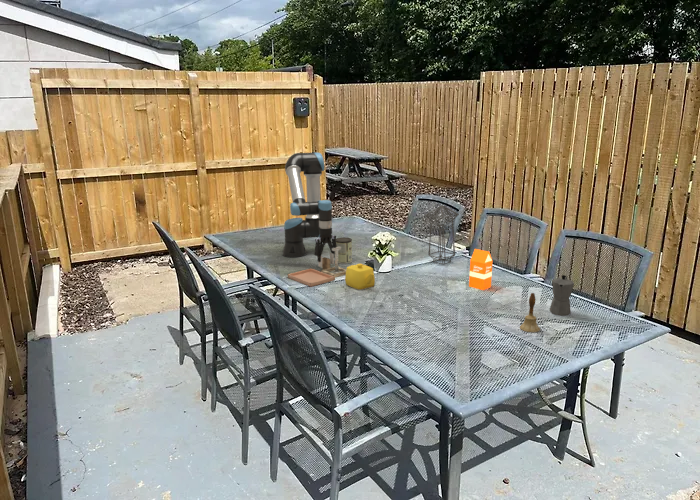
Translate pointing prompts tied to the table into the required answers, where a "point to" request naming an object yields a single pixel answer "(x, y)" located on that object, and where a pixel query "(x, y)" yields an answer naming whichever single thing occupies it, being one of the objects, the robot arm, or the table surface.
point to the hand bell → (530, 318)
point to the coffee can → (344, 250)
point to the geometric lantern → (442, 231)
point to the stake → (336, 259)
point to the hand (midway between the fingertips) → (326, 265)
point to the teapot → (360, 276)
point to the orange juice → (480, 270)
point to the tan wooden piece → (327, 268)
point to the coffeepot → (561, 296)
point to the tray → (311, 277)
